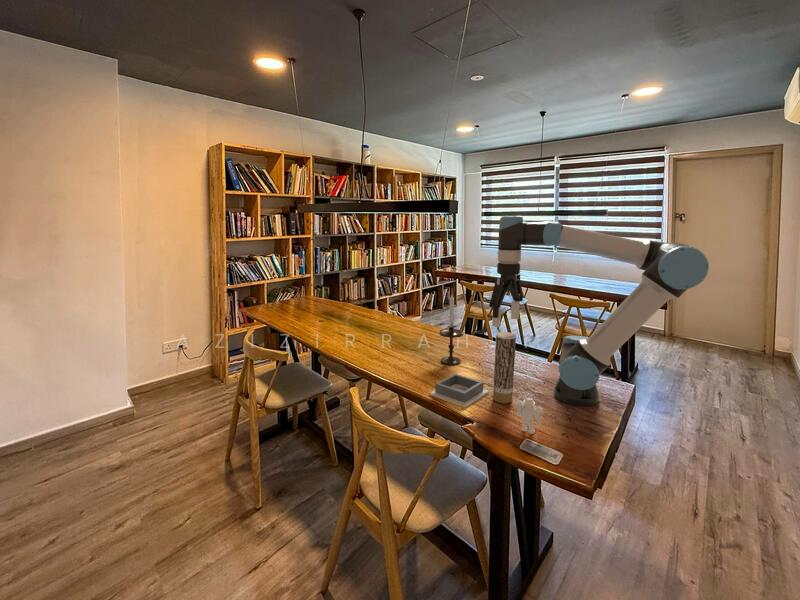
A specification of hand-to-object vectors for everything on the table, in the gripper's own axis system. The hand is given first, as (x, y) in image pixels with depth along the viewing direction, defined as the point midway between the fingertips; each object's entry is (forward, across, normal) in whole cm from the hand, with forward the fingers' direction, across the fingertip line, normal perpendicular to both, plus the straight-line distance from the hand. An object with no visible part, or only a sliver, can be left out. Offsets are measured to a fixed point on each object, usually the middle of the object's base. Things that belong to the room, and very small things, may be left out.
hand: (505, 322), depth 138 cm
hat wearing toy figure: (+29, +14, +16) cm, 36 cm away
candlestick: (+30, -20, -37) cm, 51 cm away
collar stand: (+29, +6, -15) cm, 33 cm away
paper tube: (+29, 0, 0) cm, 30 cm away
